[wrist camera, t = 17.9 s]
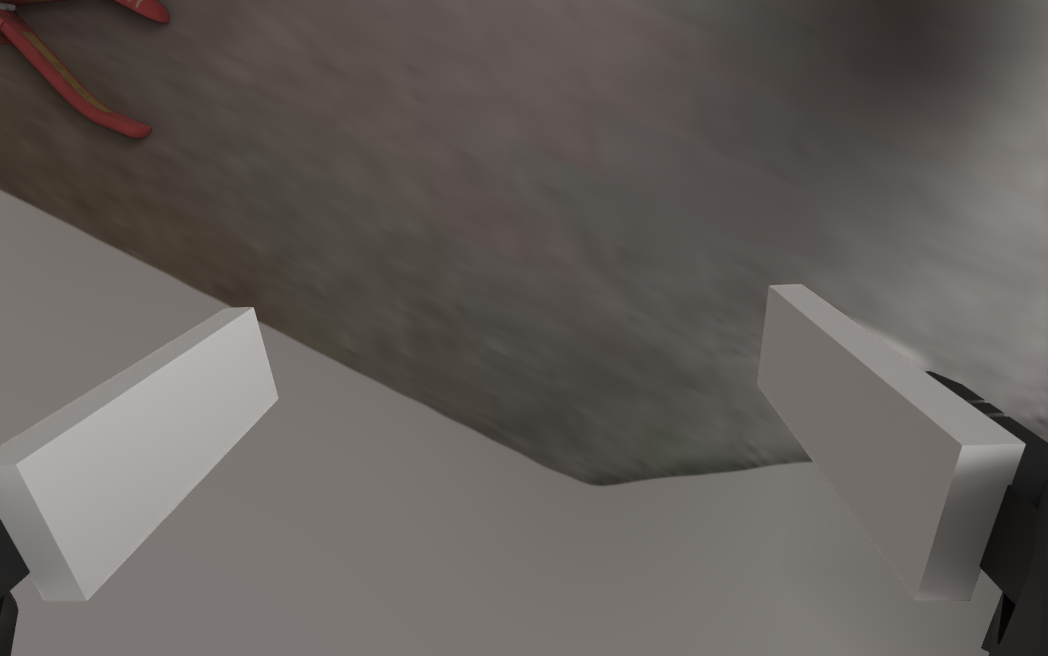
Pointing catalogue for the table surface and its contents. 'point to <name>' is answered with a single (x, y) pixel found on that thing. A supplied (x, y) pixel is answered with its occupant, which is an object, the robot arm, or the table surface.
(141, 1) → the pliers
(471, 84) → the table surface
